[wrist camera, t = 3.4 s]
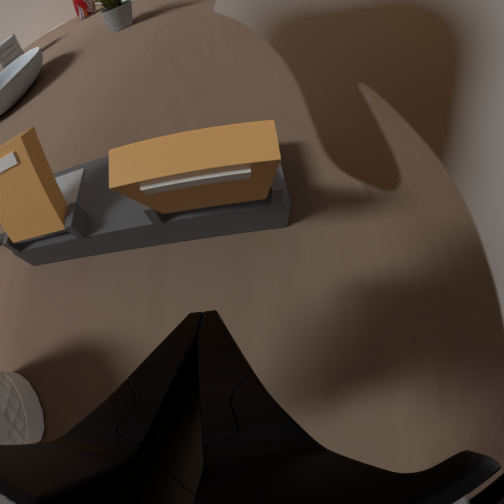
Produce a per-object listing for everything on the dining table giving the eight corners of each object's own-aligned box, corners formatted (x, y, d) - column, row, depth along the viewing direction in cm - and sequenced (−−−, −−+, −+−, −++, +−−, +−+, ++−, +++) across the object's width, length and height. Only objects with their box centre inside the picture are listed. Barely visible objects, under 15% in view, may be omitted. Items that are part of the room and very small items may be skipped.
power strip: (287, 228, 19) (294, 188, 15) (-14, 275, 18) (-43, 259, 14) (270, 152, 22) (271, 108, 17) (-2, 217, 21) (-26, 197, 17)
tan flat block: (71, 236, 15) (21, 136, 10) (14, 250, 15) (-32, 170, 10) (78, 220, 16) (35, 125, 11) (22, 235, 16) (-19, 158, 11)
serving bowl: (-11, 110, 35) (-23, 93, 28) (52, 59, 38) (43, 39, 32) (-27, 154, 28) (-44, 134, 22) (50, 86, 32) (36, 59, 25)
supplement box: (10, 73, 43) (-5, 48, 32) (28, 59, 45) (14, 32, 33) (8, 79, 41) (-8, 51, 29) (27, 63, 42) (12, 34, 31)
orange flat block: (268, 203, 16) (287, 162, 9) (163, 218, 16) (104, 193, 9) (264, 176, 16) (279, 119, 9) (161, 192, 16) (104, 151, 9)
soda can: (85, 19, 52) (76, -6, 40) (76, 22, 53) (67, -2, 42) (100, 10, 54) (93, -14, 43) (90, 13, 55) (82, -10, 44)
